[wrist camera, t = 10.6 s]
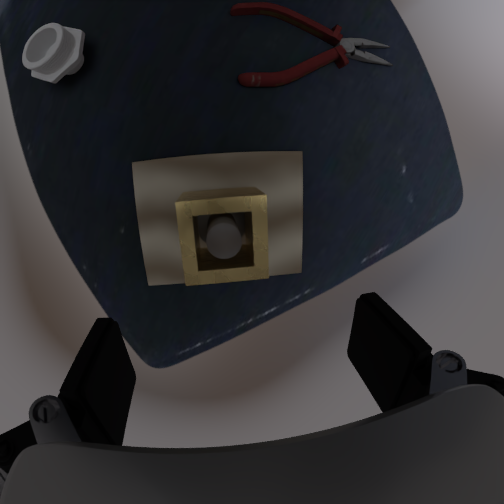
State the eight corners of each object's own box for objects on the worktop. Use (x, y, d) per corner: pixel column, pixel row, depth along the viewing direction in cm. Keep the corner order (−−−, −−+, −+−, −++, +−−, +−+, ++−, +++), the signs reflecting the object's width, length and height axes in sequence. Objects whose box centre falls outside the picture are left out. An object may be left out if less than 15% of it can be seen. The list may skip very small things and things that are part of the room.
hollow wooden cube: (182, 192, 26) (175, 202, 20) (254, 186, 27) (266, 194, 21) (190, 260, 28) (185, 285, 23) (257, 254, 29) (268, 278, 24)
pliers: (392, 96, 29) (404, 93, 26) (237, 90, 27) (239, 84, 24) (378, 24, 25) (388, 17, 22) (228, 9, 23) (230, -1, 20)
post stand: (134, 162, 27) (104, 165, 19) (298, 151, 29) (332, 151, 21) (150, 281, 32) (133, 323, 23) (298, 268, 34) (326, 306, 25)
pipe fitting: (98, 32, 21) (72, 6, 13) (93, 82, 23) (62, 65, 16) (55, 46, 20) (23, 28, 12) (50, 96, 22) (13, 86, 15)
